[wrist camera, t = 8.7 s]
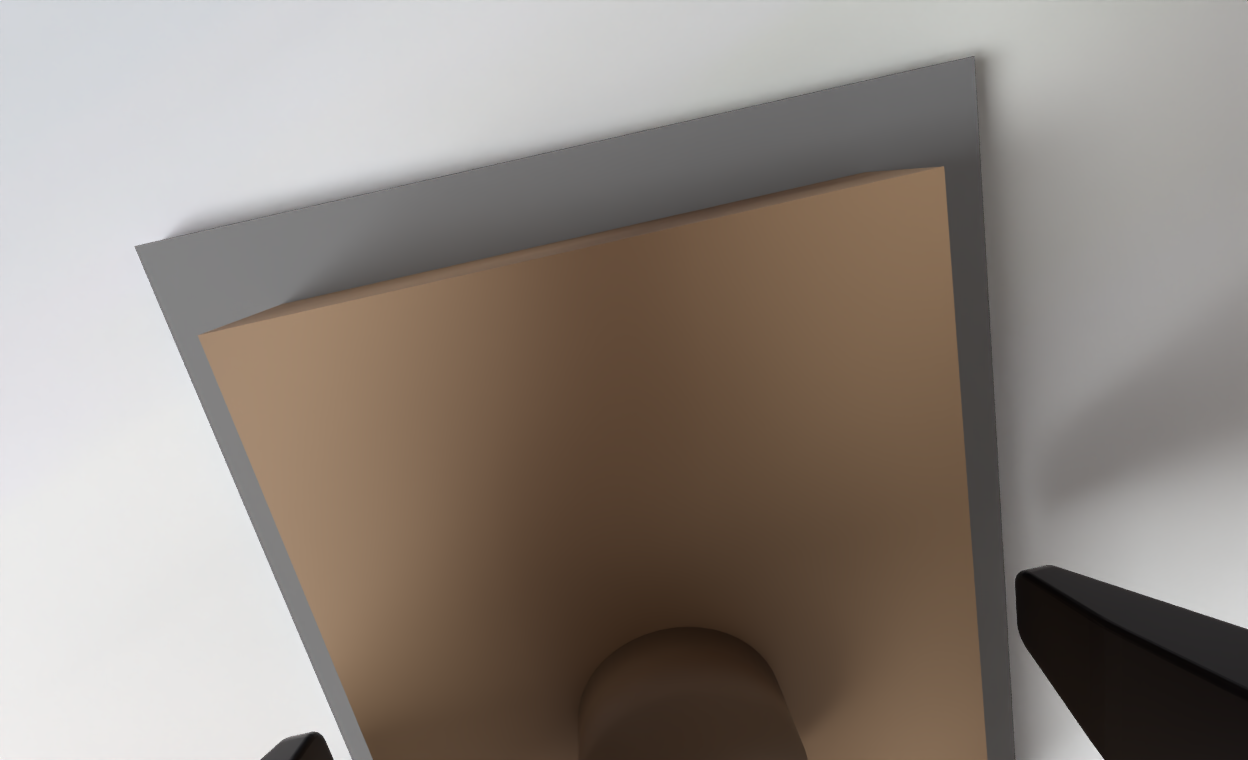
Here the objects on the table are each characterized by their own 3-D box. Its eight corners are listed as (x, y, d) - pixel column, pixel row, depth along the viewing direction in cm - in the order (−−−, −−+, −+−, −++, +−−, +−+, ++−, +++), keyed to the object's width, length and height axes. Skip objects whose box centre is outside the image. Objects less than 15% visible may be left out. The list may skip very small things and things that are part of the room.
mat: (1006, 847, 12) (1021, 869, 11) (457, 971, 12) (453, 997, 11) (955, 62, 8) (974, 56, 8) (156, 243, 8) (134, 246, 8)
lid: (864, 172, 8) (1011, 161, 5) (935, 844, 11) (1050, 1056, 8) (281, 304, 8) (126, 361, 5) (517, 940, 11) (495, 1182, 8)
